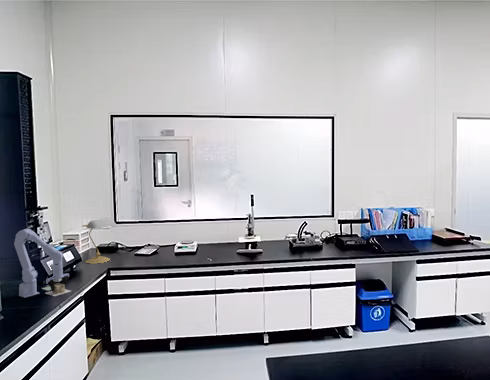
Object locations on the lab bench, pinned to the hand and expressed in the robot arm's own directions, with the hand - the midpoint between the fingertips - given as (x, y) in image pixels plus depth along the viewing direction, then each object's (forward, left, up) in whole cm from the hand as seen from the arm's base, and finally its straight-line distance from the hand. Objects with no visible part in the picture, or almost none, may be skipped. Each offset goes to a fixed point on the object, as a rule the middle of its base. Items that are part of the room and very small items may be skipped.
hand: (58, 289), depth 230 cm
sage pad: (+2, +13, -2) cm, 13 cm away
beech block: (0, 0, -2) cm, 2 cm away
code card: (0, 0, -2) cm, 2 cm away
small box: (+14, +28, -2) cm, 31 cm away
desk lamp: (+70, +55, -2) cm, 89 cm away
